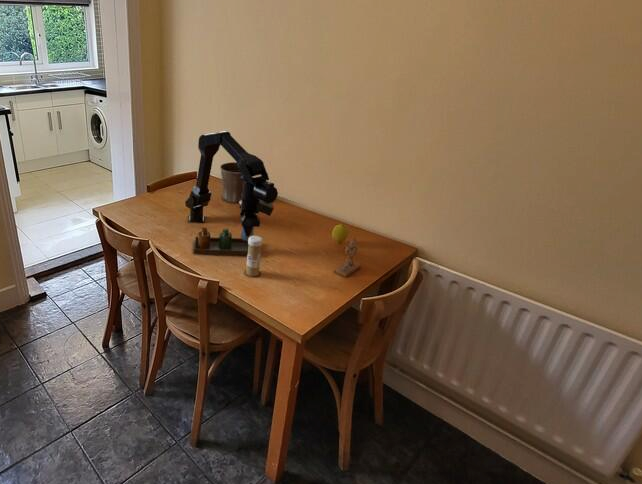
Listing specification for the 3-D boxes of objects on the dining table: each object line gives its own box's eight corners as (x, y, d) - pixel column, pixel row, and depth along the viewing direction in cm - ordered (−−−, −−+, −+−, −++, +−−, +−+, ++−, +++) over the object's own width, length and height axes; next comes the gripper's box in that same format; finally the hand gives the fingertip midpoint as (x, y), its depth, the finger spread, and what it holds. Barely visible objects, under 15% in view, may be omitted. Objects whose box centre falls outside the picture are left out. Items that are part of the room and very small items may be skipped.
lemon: (345, 240, 161) (349, 222, 157) (346, 247, 156) (349, 228, 153) (330, 238, 162) (334, 220, 159) (330, 245, 158) (334, 226, 154)
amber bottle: (198, 243, 158) (198, 226, 155) (210, 243, 158) (210, 226, 155) (197, 249, 154) (198, 231, 151) (209, 249, 154) (210, 231, 151)
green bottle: (219, 244, 158) (219, 226, 155) (231, 244, 157) (232, 227, 154) (219, 249, 154) (219, 232, 150) (231, 250, 153) (232, 232, 150)
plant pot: (254, 204, 195) (257, 172, 188) (220, 204, 195) (221, 172, 188) (249, 192, 209) (251, 162, 202) (217, 192, 210) (218, 162, 203)
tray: (195, 241, 161) (195, 236, 160) (254, 243, 159) (255, 238, 158) (193, 253, 152) (193, 249, 151) (257, 256, 150) (257, 251, 149)
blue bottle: (240, 235, 155) (242, 216, 152) (252, 235, 155) (254, 216, 152) (241, 240, 151) (242, 221, 148) (253, 241, 151) (255, 221, 148)
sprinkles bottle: (243, 273, 139) (245, 238, 134) (250, 268, 143) (253, 233, 137) (255, 278, 137) (258, 242, 131) (261, 272, 140) (265, 237, 134)
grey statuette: (348, 263, 145) (354, 233, 140) (359, 267, 142) (365, 237, 137) (335, 272, 140) (341, 241, 135) (346, 277, 137) (352, 245, 132)
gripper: (276, 205, 137) (272, 246, 143) (270, 185, 153) (266, 223, 160) (243, 204, 137) (240, 245, 144) (240, 185, 154) (237, 222, 161)
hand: (247, 233), depth 152 cm, fingers closed on blue bottle, 4 cm apart
